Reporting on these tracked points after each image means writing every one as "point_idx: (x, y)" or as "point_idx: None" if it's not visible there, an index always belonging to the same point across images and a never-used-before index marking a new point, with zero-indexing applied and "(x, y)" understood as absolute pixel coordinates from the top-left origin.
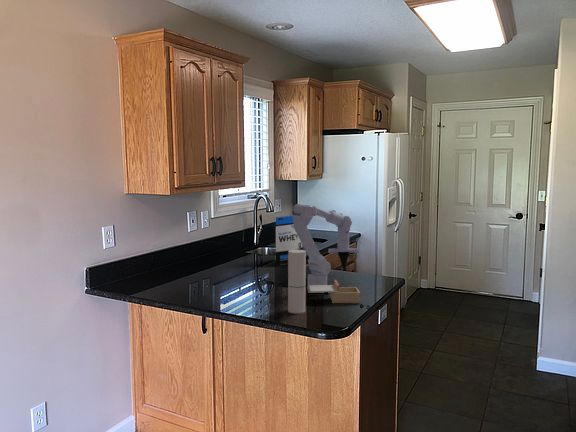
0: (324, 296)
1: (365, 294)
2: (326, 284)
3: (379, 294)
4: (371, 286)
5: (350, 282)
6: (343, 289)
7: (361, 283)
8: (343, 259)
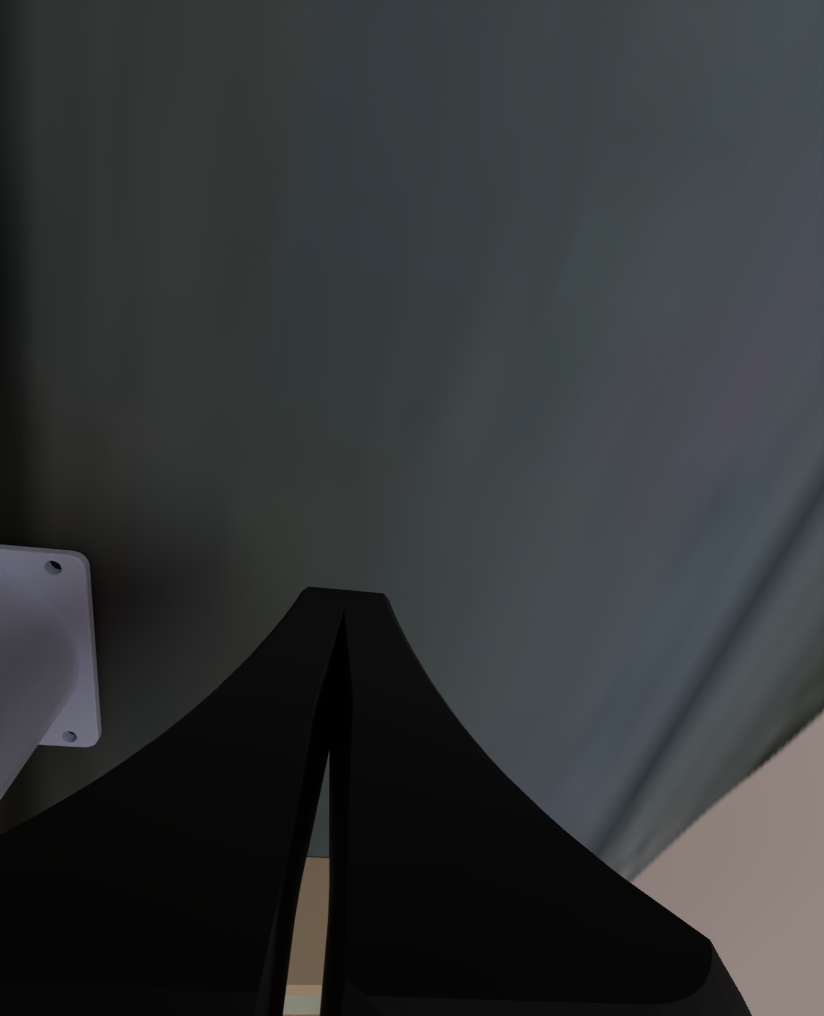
0: (49, 799)
1: (545, 758)
2: (14, 777)
3: (696, 767)
4: (815, 406)
5: (609, 44)
6: None
7: (770, 170)
8: (346, 773)
